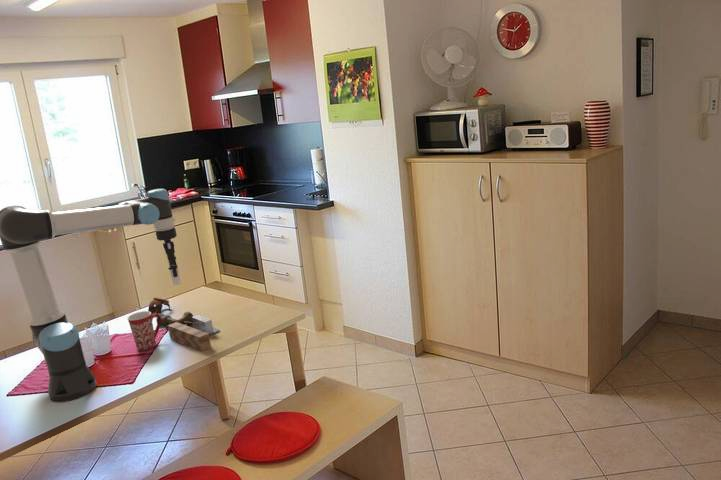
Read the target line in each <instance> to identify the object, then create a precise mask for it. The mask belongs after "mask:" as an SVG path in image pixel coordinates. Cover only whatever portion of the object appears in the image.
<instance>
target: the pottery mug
mask: <svg viewBox="0 0 721 480" xmlns="http://www.w3.org/2000/svg"><path fill="white" fill-rule="evenodd" d="M152 299H153V300H151V301H150V302H149V304H148V310H147V311H149V312H151V315H152V314H154V313H156V314H158V315H160V314H162V309H163V305H164V306H167V307H168V311H169V310H170V309H171V306H170V303H169V302H170V300H168V299H163V298H160V297H153V298H152Z"/></svg>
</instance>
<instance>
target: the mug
mask: <svg viewBox="0 0 721 480" xmlns="http://www.w3.org/2000/svg"><path fill="white" fill-rule="evenodd" d="M159 315H160V314H156V313H154V314H152V315H151V312H149V311H148V310H146V311H145V310H143V311H138V312H136V313H132V314H130V315H129V316H128V317H127V318H126V319H127V321H128V323H129V326H130V331H131V333H132V336H133V337H132V338H133V339H134V343H135V345H136V347H135V348H136V349H137V351H141V350H142V351H147V350H151V349H152V348H154V347H155V346H156V345H157V341H156V338H157V335H158V333H159V330H160V327H161V326H160V324H161V318H160V316H159ZM154 317H156V320H157V319H158V322H157V321H156V327H155V329H154V327H153V326H154V325H153V320H154Z"/></svg>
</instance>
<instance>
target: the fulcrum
mask: <svg viewBox="0 0 721 480" xmlns="http://www.w3.org/2000/svg"><path fill="white" fill-rule="evenodd" d="M191 318H192V323H193V324H192V326H193V327H192V328H195V329H197V330H200V331H203V332H206V333H209V337H210V336H212V335H216V334H217V333H220V332H221V331H220V329H217V328H215V327H214V326H213V322H212V319H211V318H208V317H205V316H202V315H200V314H195V315H193V317H191Z"/></svg>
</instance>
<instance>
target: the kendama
mask: <svg viewBox="0 0 721 480" xmlns="http://www.w3.org/2000/svg"><path fill="white" fill-rule="evenodd" d="M158 315H159V316H160V318H161V324H160V327H162V326H166V327H168V325H170V324H173V323H175V322H178V323H181V324H183V325H186V326H188V325H189V326H191V325H193V323H192V318H191V317H193V316H194V314H193V313H192V312H190V311H185V312H184V313H183V314H182V315H183V316H182V317H181V318H179V319H176V318H173V317H172V316H171V315H166V314H163V313H160V314H158ZM157 322H158V319H157V318H156V323H157Z"/></svg>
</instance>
